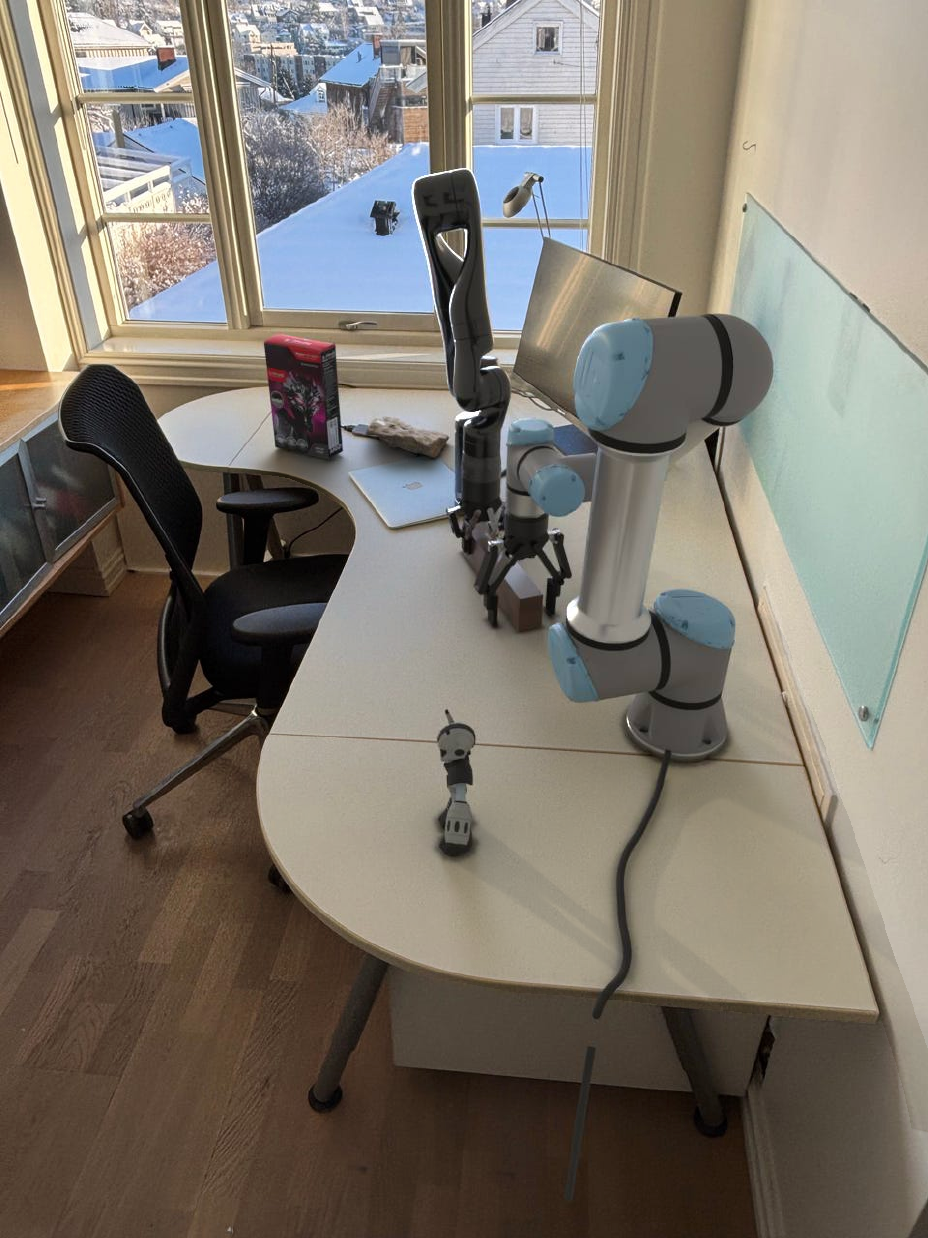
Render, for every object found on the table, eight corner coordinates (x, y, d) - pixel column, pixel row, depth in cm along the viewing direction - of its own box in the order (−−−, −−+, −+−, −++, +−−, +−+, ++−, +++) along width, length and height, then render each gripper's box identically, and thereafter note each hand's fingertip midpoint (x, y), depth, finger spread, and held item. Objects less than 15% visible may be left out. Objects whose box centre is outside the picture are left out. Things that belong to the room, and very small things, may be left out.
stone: (350, 440, 227) (354, 417, 225) (371, 432, 241) (376, 409, 239) (429, 465, 224) (434, 441, 222) (446, 455, 237) (452, 432, 235)
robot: (478, 890, 117) (481, 774, 106) (439, 891, 117) (438, 775, 106) (469, 781, 133) (471, 671, 122) (436, 782, 133) (434, 671, 122)
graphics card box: (273, 448, 231) (260, 339, 216) (289, 438, 236) (278, 332, 221) (329, 461, 225) (320, 351, 210) (345, 451, 230) (337, 342, 215)
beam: (541, 627, 166) (543, 594, 163) (518, 632, 165) (520, 599, 161) (482, 549, 190) (483, 519, 186) (462, 553, 189) (462, 522, 185)
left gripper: (508, 460, 180) (505, 537, 190) (439, 470, 176) (439, 548, 186) (523, 475, 174) (519, 554, 184) (452, 486, 170) (451, 566, 180)
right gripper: (579, 490, 163) (570, 595, 175) (455, 509, 156) (454, 617, 168) (598, 508, 157) (587, 616, 169) (470, 529, 150) (468, 640, 163)
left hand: (479, 550), depth 185 cm, fingers closed on beam, 4 cm apart
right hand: (521, 617), depth 169 cm, fingers open, 11 cm apart
